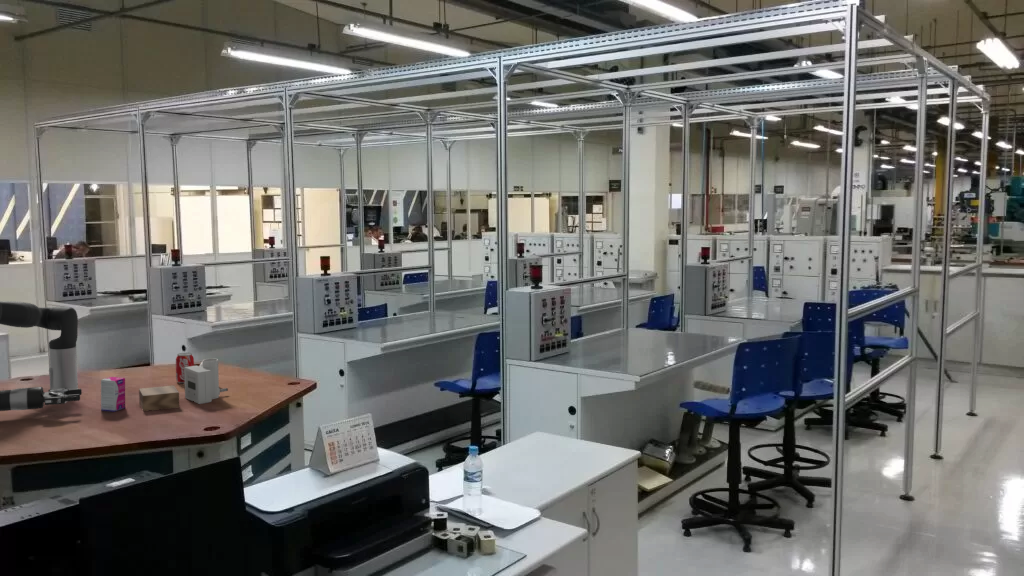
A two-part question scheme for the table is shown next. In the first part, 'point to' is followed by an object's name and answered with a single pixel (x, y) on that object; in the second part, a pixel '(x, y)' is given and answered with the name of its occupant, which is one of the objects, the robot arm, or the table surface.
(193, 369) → the thermostat
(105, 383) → the supplement box
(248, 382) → the table surface
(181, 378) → the soda can
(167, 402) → the walnut block
